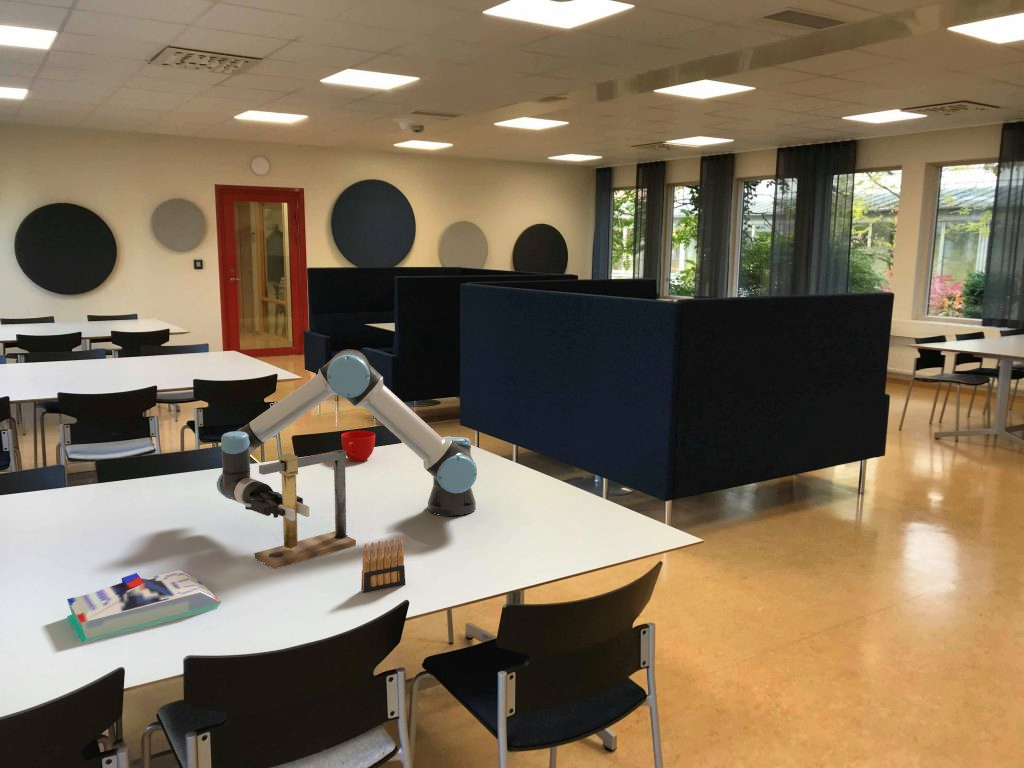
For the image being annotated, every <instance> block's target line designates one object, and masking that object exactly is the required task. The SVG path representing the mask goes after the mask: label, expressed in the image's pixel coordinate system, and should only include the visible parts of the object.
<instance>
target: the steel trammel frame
mask: <svg viewBox="0 0 1024 768" xmlns="http://www.w3.org/2000/svg"><path fill="white" fill-rule="evenodd" d="M346 459H347V456H346V451H344V450H343V449H338V450H333V451H329V452H324V453H317V454H312V455H309V456H304V457H302V456H301V457H298V469H299V468H304V467H308V466H309V467H310V466H314V465H319V464H324V463H328V462H333V471H334V472H333V474H334V475H333V476H334V479H333V481H334V484H333V485H334V531H335V537H336V538H345V537H346V535H347V503H346V502H347V499H346V497H347V495H346V491H347V490H346V487H347V486H346ZM285 470H286V461H281V462H279V461H276V462H271V463H266V464H260V465H258V474H260V475H263V476H265V475H268V474H273V473H279V472H280V471H285Z"/></svg>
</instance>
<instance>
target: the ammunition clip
mask: <svg viewBox="0 0 1024 768" xmlns="http://www.w3.org/2000/svg"><path fill="white" fill-rule="evenodd" d="M403 544H404V543H403V540H402V538H401V536H400V537H399V538H398V542H397V544H396V541H395V539H394V538H392V540H391V543H390V547H389V541H388V539H385V541H384V546H383V545H382V543H381V540H379V541H378V543H377V548H376V546H375V544H374V542H373V541H372V542H371V544H370V548H369V547H368V544H367V543H364V546H363V555H362V570H361V589H360V590H361V591H362V592H363V593H364V594H367V593H372V592H376V591H382V590H387V589H391V588H397V587H401V586H405V585H406V573H405V572H406V571H405V569H406V568H405V560H404V559H405V557H404V556H405V555H404V547H403V546H404V545H403ZM382 546H383V547H382ZM369 549H370V551H369ZM369 553H370V554H369Z"/></svg>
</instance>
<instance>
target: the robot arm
mask: <svg viewBox="0 0 1024 768" xmlns="http://www.w3.org/2000/svg"><path fill="white" fill-rule="evenodd" d="M333 395H335V396H340V397H343V398H345V400H347V401H348V402H349V403H350V404H352V405H353V406H354V407H363V408H364V409H365V410H366V411H368V413H370V414H371V415H372V416H373V417H374V418H376V420H377V421H379V422H380V423H381V424H382V425H383V426H384V427H386V429H388V430H389V432H391V433H392V434H393V435H394V436H396V438H398V439H399V440H400V441H401V442H402V443H403V444H404V445H406V446H407V447H408V448H409V449H410V450H411V451H412V452H413V453H415V455H417V456H418V457H419V459H421V460H422V461H423V468H424V469H425V470H426V471H427V472H428V473H429V474H430V475H431V476H432V478H433V482H432V483H433V484H432V485H433V486H432V489H431V492H430V494H429V498H428V500H427V511H428V512H430V513H431V512H432V513H431V514H434V513H435V514H434V515H437V514H439V515H438V516H443V515H450V516H449V517H457V516H456V515H460V516H465V515H464V514H466V515H469V514H471V513H470V512H472V513H474V512H475V511H476V505H477V504H476V499H475V495H474V493H473V489H472V487H473V486H474V484H475V482H476V480H477V476H478V469H477V464H476V462H475V461H474V459H473V456H472V453H471V448H472V444H471V439H470V438H468V437H464V436H463V437H462V436H461V437H460V436H444V437H442V436H440V435H439V433H437V432H436V431H435V430H434V428H432V427H431V426H430V425H428V424H427V423H426V421H424V420H423V419H422V418H421V417H420V416H419V415H417V414H416V413H415V412H414V411H413V410H412V409H411V408H410V407H409V406H408V405H407V404H406V403H405V402H403V401H402V399H400V398H399V397H398V396H397V395H395V393H394V392H392V391H391V389H389V388H388V387H387V386H386V385H385V384H384V376H382V374H380V373H379V372H378V371H377V370H376V369H375V368H374V367H373V366H372V365H371V364H370V362H369V360H368V358H367V357H366V356H365V355H364V353H362V352H360V351H358V350H357V349H351V348H349V349H343V350H341V351H340V352H338V353H336V354H335V355H334V356H333V358H331V359H330V360H329V361H328V362H327V363H326V364H324V365H323V366H322V367H320V368H319V369H318V372H317V374H316V375H315V376H313V377H311V379H309V380H308V381H306V382H305V383H304V384H302V385H301V386H299V387H298V388H296V389H295V390H294V391H292V392H291V393H289V394H288V395H287V396H285V397H284V398H282V399H281V400H280V401H278V402H277V403H275V404H273V405H272V406H271V407H270V408H268V409H266V410H265V411H264V412H262V413H261V414H259V415H258V416H257V417H256V418H254V419H253V420H251V421H250V422H249V423H247V424H246V425H244V426H242V427H240V428H238V429H236V430H235V431H228V432H225V433H223V434H222V435H221V438H220V439H221V441H220V443H221V444H220V449H221V462H222V465H221V466H222V472H221V474H220V475H219V477H218V479H217V482H216V489H217V491H218V492H219V494H221V495H222V496H224V497H225V498H226V499H228V500H232V501H235V502H237V503H238V504H242V505H243V506H244V509H245V510H247V511H253V512H255V513H258V514H261V515H264V516H267V517H269V516H271V514H272V515H273V518H275V519H277V518H279V516H281V517H282V518H283V517H285V518H287V519H289V520H292V521H294V520H295V510H293V509H291V508H289V507H286V506H284V505H283V504H282V493H280V492H279V491H274V489H273V488H272V487H271V486H270V485H269V484H267V483H264V482H262V481H259V480H257V479H255V478H252V477H251V461H250V460H251V457H250V456H251V455H252V453H253V452H254V451H255V450H257V449H258V448H260V447H261V446H262V445H264V444H265V443H266V442H268V441H269V440H270V439H272V438H273V437H275V436H276V435H277V434H279V433H280V432H282V431H283V430H285V429H286V428H287V427H289V426H290V425H292V424H293V423H294V422H296V421H298V420H299V419H300V418H302V417H303V416H305V415H306V414H308V413H309V412H311V411H312V410H313V409H315V408H316V407H317V406H319V405H321V404H322V403H324V402H325V401H327V399H329V398H330V397H332V396H333ZM296 496H297V515H298V514H299V515H301V516H303V517H306V518H310V506H309V505H306V504H304V498H303V497H300V496H299V495H296ZM474 510H475V511H474ZM468 513H469V514H468ZM453 515H455V516H453Z"/></svg>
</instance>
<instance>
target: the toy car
mask: <svg viewBox="0 0 1024 768" xmlns="http://www.w3.org/2000/svg"><path fill="white" fill-rule="evenodd" d="M66 601H67V603H68V607H69V609H70V612H71V614H69V615H67V617H66V618H68V619H67V620H68V622H69V623H70V626H71V627H72V629H73V630H74V632H75V633H76V635H77V638H78V639H79V641H80V643H81V644H84V643H88V642H92V641H96V640H99V639H104V638H107V637H111V636H115V635H119V634H123V633H127V632H130V631H134V630H139V629H142V628H146V627H150V626H155V625H158V624H162V623H167V622H171V621H175V620H178V619H182V618H183V619H184V618H187V617H190V616H195V615H198V614H203V613H207V612H211V611H214V610H217V609H218V607H219V606H220V605H221V603H222V602H221V600H220V599H219V598H218V597H217V596H216V595H214V594H213V593H212V591H211V590H209V588H207V587H206V585H204V583H202V582H201V581H200V580H198V579H197V578H195V577H194V576H192V575H189V574H188V573H186V572H184V571H182V570H181V569H178V570H174V571H170V572H167V573H162V574H158V575H155V576H151V577H147V578H141V576H140V574H138V573H137V572H136V573H132V574H130V575H127V576H124V577H121V582H119V583H117V584H113V585H111V586H108V587H105V588H102V589H100V590H96V591H92V592H89V593H86V594H81V595H77V596H74V597H69V598H66Z"/></svg>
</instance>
